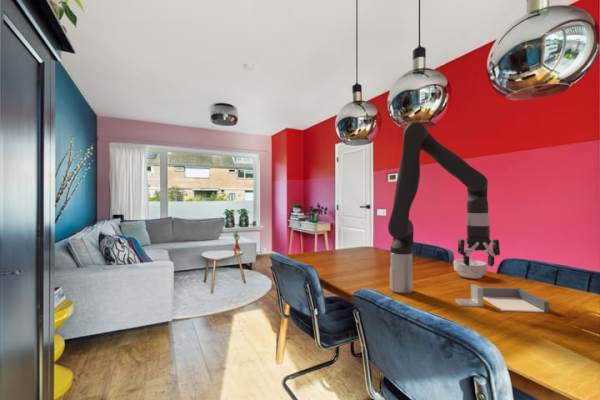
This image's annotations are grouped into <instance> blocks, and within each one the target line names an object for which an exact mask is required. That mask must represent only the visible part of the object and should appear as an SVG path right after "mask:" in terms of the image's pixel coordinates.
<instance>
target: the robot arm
mask: <svg viewBox="0 0 600 400" xmlns="http://www.w3.org/2000/svg"><path fill="white" fill-rule="evenodd" d="M402 135H403V136H402V139H403V140H402V152H401V158H400V162H399V167H398V172H397V178H396V184H395V190H394V191H395V192H394V196H393V197H394V198H393V206H392V210H391V214H390V218H389V220H388V226H387V229H388V230H387V231H388V233H389V235H390V236H391V237H392V243H391V244H390V267H389V290H390V291H392V293H397V294H411V293H413V247H414V224H413V222H412V221H411V220H410V212H411V211H410V210H411V207H412V205H413V202H414V200H415V199H416V196H417V193H418V189H419V186H420V185H419V184H420V177H421V167H420V166H421V164H420V163H421V162H420V157H421V155H420V154H421V151H423V152H424V153H426V154H427V155H429V156H430V157H431V158H432V159H433V160H434V161H435V162H436V163H438V165H439V166H441V167H442V168H443V169H444V170H445V171H446V172H448V173H449V174H450V175H451V176H453V177H454V178H456V179H458V181H460V183H462V184H463V185H464V186H465V187H466V189H467V200H466V201H467V202H466V204H467V205H466V221H465V222H466V223H465V224H466V239H463V238H459V239H458V240H457V241H458V242H457V253H458V254H459V255H462V257H463V258H462V259H463V262H464V264H465V265H466V266H469V260H470V256H471V255H470V254H471V253H473V252H474V251H482V252H483V251H484V252H485V253H486V254H487V266H489V267H493V266H494V265H495V256H500V255H501V251H500V241H499V239H496V238H492V239H490V236H491V234H490V232H491V231H490V229H491V228H490V215H489V214H490V213H489V201H488V185H489V181H488V178H487V177H486V176H485V175H484V174H482V172H480V171H478V169H475V167H472V166H471V165H470V164H468V162H466V161H465V160H464V159H463V158H461V157H460V156H459V155H457V154H456V153H455V152H454V151H452V150H450V149H449V148H447V147H445V146H444V145H442V143H440V142H439V141H437V139H435V138H434V136H432V134H431V133H430V131H428V129H427V127H426V126H425V125H424V124H422V123H421V122H418V121H413V122H410V123H409V124H407V126H406V127H405V129H404V131H403V134H402ZM466 244H467V246H466V247H465V245H466ZM489 245H492V249H491V247H490V246H489Z"/></svg>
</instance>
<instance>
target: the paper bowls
mask: <svg viewBox="0 0 600 400" xmlns="http://www.w3.org/2000/svg"><path fill="white" fill-rule="evenodd" d="M453 270H454V272H455V271H456V272H457V274H458V276H460V277H462V278H466V279H481V278H483V275H486V274H487V273H488V262H485V261H482V260H476V259H469V266H466V265H465V264H464V262H463V258H462V259H461V258H460V259H455V260H453Z"/></svg>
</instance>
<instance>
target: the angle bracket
mask: <svg viewBox="0 0 600 400" xmlns="http://www.w3.org/2000/svg"><path fill="white" fill-rule="evenodd" d="M482 287H483V286H480V285H479V284H474V283H473V284H472V283H471V284H470V298H455V303H457V304H458V305H459V306H461V307H478V308H480V307H484V299H483V288H482Z"/></svg>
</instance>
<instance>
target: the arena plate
mask: <svg viewBox="0 0 600 400" xmlns="http://www.w3.org/2000/svg"><path fill="white" fill-rule="evenodd" d="M483 300H484V301H486V302H488V303H489V304H491V305H493V306H495V308H497V309H499V310H500V311H502V312H519V313H521V312H522V313H544V311H543V310H541V309H539V308H537V307H535V306H533V305H531V304H530V303H528V302H526V301H524V300H522V299H520V298H518V297H488V296H483Z"/></svg>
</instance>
